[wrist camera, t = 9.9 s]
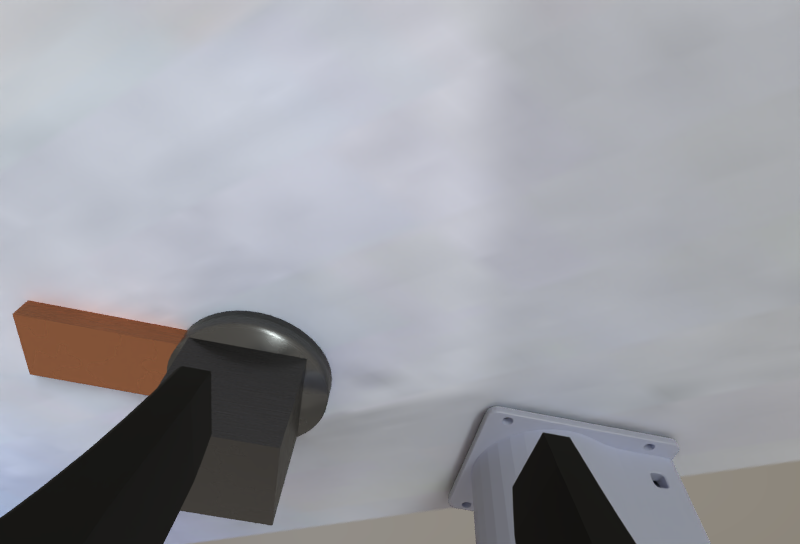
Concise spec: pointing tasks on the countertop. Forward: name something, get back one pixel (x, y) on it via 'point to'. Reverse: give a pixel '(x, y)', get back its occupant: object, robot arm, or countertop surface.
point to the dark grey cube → (245, 428)
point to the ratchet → (156, 349)
